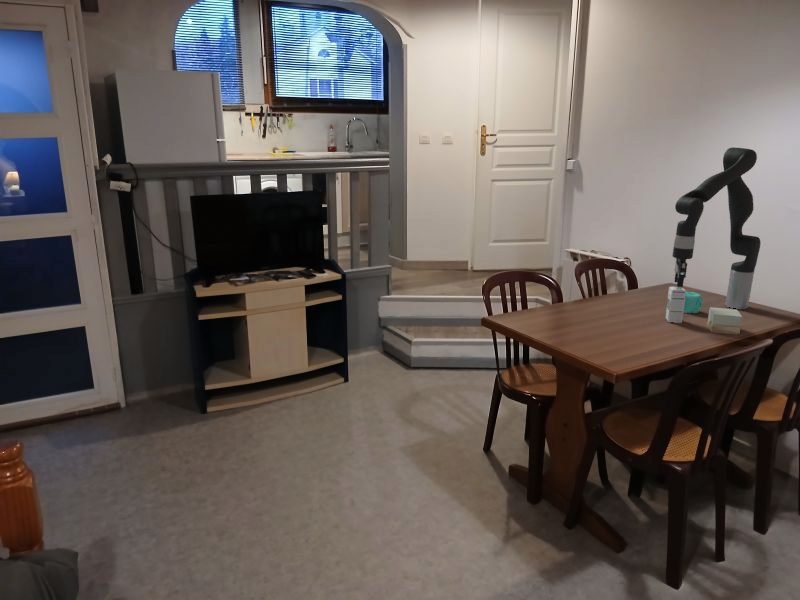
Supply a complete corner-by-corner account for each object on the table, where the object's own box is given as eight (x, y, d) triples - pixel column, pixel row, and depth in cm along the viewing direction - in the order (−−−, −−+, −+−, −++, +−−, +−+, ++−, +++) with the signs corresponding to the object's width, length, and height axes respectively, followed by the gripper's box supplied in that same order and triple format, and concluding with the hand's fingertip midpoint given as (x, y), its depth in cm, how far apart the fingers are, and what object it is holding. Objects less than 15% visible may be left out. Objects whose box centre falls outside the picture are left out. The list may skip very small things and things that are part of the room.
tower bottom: (707, 325, 244) (708, 316, 243) (733, 328, 241) (735, 318, 240) (711, 333, 235) (712, 323, 234) (739, 335, 232) (740, 326, 231)
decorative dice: (701, 311, 262) (704, 294, 260) (691, 314, 258) (694, 297, 256) (684, 307, 268) (686, 290, 266) (674, 310, 264) (677, 293, 262)
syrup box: (682, 323, 246) (687, 290, 242) (667, 322, 247) (672, 289, 243) (679, 319, 251) (683, 286, 247) (664, 318, 252) (668, 286, 248)
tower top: (708, 316, 243) (709, 307, 242) (735, 318, 240) (736, 309, 239) (712, 323, 234) (714, 314, 233) (740, 326, 231) (742, 316, 230)
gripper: (696, 250, 233) (690, 289, 237) (691, 244, 246) (685, 281, 250) (675, 248, 235) (670, 287, 239) (671, 243, 248) (666, 280, 252)
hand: (678, 284), depth 245 cm, fingers open, 8 cm apart
